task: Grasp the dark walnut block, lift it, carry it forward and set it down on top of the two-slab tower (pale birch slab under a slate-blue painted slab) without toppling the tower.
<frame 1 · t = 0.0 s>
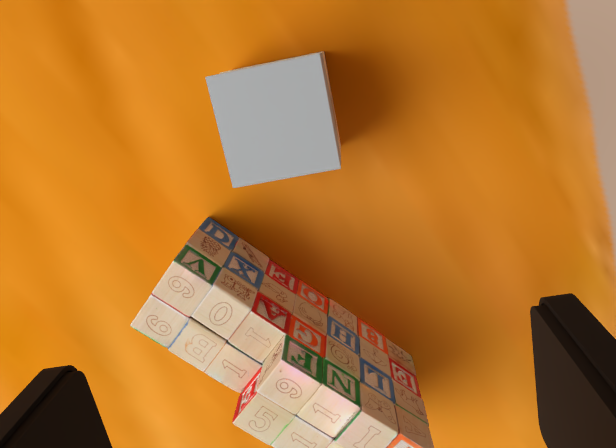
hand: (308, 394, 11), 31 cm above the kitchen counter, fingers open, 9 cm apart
stack of blocks: (293, 312, 46), on the kitchen counter
tower top: (281, 115, 36), point 4 cm above the kitchen counter, touching tower base
tower base: (287, 108, 40), on the kitchen counter, touching tower top
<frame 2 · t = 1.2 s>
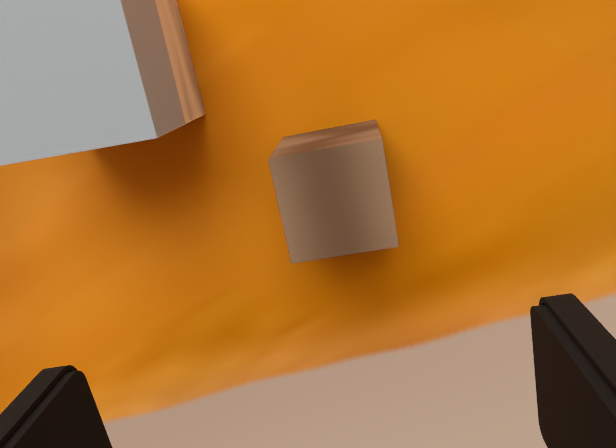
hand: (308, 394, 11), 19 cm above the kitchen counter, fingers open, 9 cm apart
tower top: (94, 61, 24), point 4 cm above the kitchen counter, touching tower base
walnut block: (337, 173, 29), on the kitchen counter
tower base: (127, 60, 28), on the kitchen counter, touching tower top
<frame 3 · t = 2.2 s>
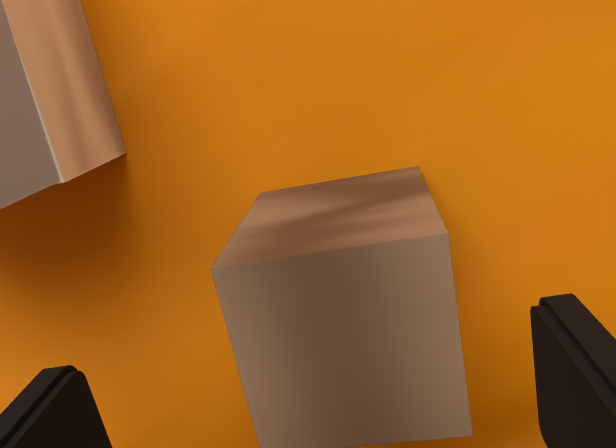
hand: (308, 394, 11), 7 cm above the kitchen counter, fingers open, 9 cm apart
walnut block: (350, 252, 17), on the kitchen counter
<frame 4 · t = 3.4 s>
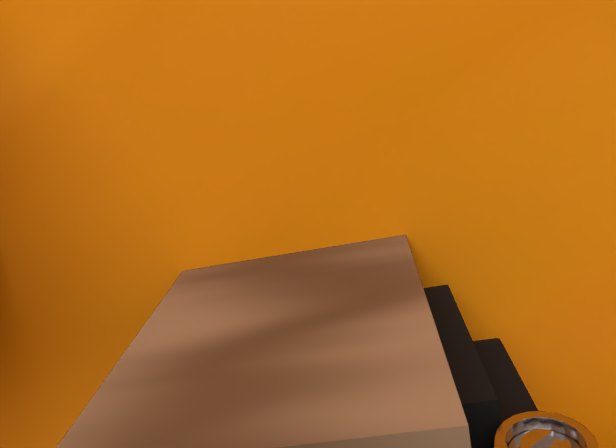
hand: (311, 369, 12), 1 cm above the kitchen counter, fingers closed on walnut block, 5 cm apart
walnut block: (313, 351, 12), on the kitchen counter, touching gripper
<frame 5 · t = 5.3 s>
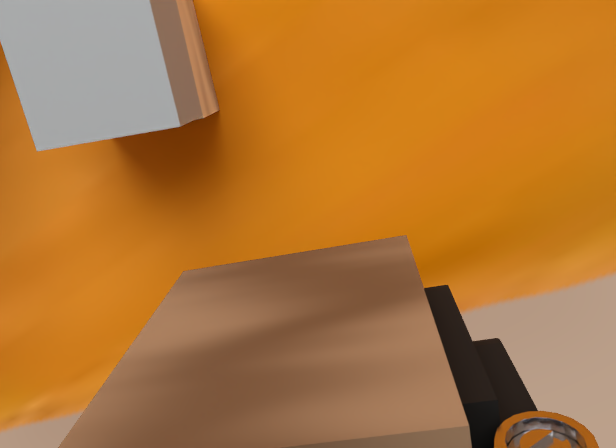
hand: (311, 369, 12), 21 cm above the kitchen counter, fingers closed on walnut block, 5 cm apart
tower top: (121, 58, 27), point 4 cm above the kitchen counter, touching tower base
walnut block: (313, 351, 12), point 21 cm above the kitchen counter, touching gripper
tower base: (148, 61, 31), on the kitchen counter, touching tower top
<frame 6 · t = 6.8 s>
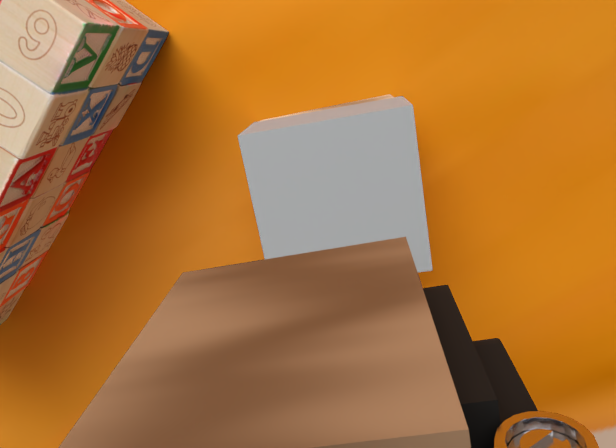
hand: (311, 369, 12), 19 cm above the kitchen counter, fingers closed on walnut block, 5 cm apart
stack of blocks: (37, 160, 31), on the kitchen counter
tower top: (339, 181, 26), point 4 cm above the kitchen counter, touching tower base
walnut block: (313, 353, 12), point 18 cm above the kitchen counter, touching gripper
tower base: (337, 169, 30), on the kitchen counter, touching tower top
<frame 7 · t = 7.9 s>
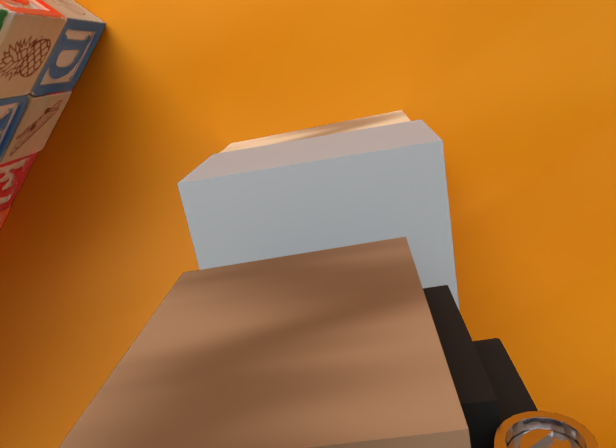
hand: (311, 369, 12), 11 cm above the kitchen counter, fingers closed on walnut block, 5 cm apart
tower top: (331, 235, 19), point 4 cm above the kitchen counter, touching tower base
walnut block: (313, 353, 12), point 11 cm above the kitchen counter, touching gripper
tower base: (330, 208, 22), on the kitchen counter, touching tower top
when the fingers open (10 cm above the kitchen counter, at t = 8.7 s): walnut block drops 1 cm, resting on tower top.
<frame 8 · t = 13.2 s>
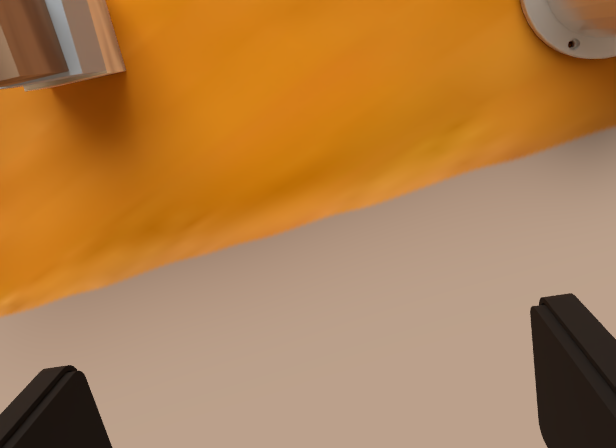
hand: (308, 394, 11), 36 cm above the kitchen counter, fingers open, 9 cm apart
tower top: (50, 31, 40), point 4 cm above the kitchen counter, touching tower base, walnut block
walnut block: (23, 42, 37), point 8 cm above the kitchen counter, touching tower top
tower base: (75, 36, 44), on the kitchen counter, touching tower top
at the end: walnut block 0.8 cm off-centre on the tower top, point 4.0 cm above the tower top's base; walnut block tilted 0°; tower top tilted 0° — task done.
